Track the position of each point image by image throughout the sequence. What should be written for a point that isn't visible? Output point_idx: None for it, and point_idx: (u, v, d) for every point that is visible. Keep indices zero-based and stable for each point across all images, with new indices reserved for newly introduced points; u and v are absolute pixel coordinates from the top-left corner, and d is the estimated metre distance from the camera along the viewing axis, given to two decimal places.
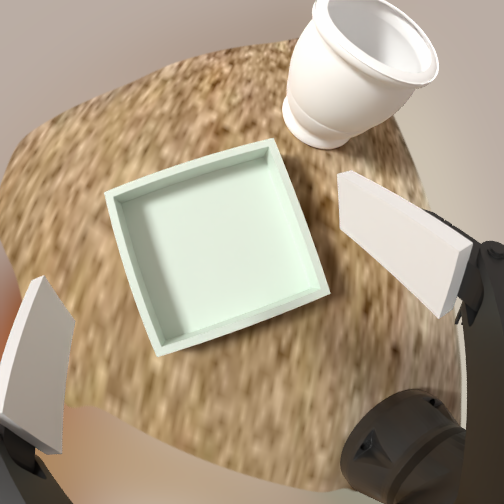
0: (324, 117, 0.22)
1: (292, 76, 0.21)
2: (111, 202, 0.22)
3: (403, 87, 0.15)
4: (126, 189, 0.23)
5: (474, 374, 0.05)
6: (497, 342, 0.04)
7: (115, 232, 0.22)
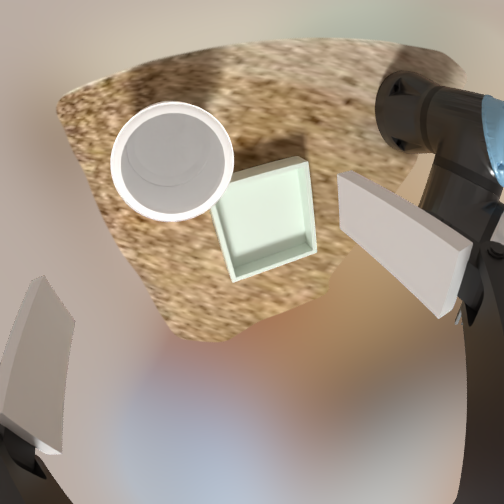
0: None
1: (176, 195, 0.31)
2: (238, 278, 0.45)
3: None
4: (232, 271, 0.44)
5: (474, 374, 0.05)
6: (497, 342, 0.04)
7: (255, 274, 0.46)
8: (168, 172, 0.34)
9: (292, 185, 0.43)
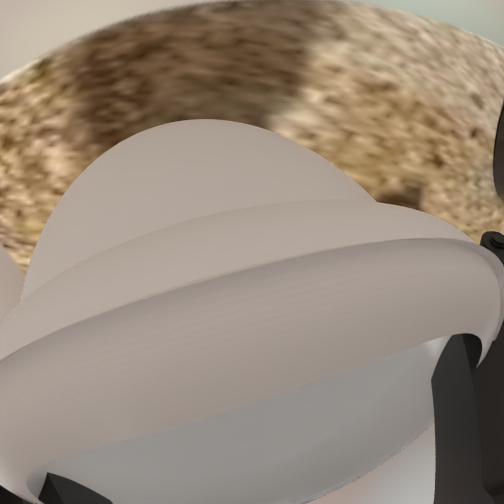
0: None
1: None
2: None
3: None
4: None
5: (438, 379, 0.06)
6: (457, 348, 0.05)
7: None
8: None
9: None
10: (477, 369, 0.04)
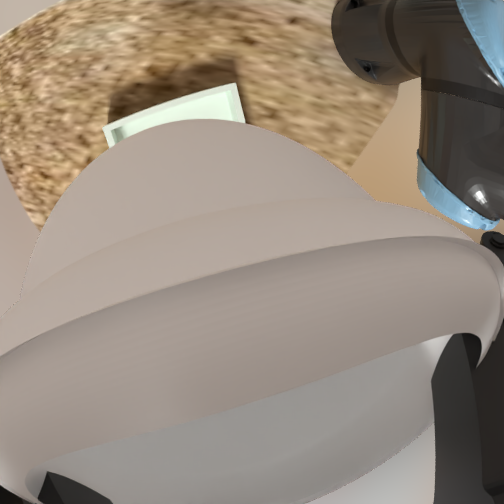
0: None
1: None
2: None
3: None
4: None
5: (437, 379, 0.06)
6: (457, 348, 0.05)
7: None
8: None
9: (222, 119, 0.31)
10: (477, 369, 0.04)
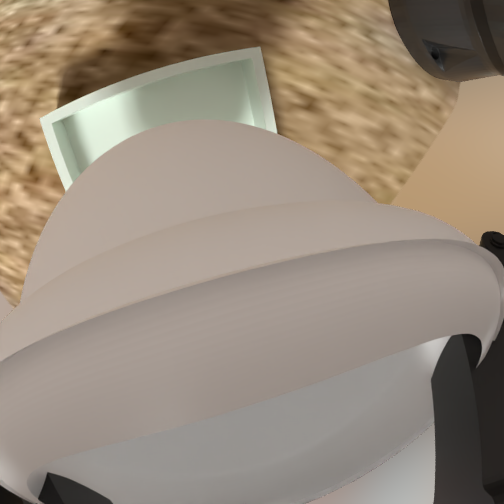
0: None
1: None
2: None
3: None
4: None
5: (437, 379, 0.06)
6: (457, 348, 0.05)
7: None
8: None
9: (235, 107, 0.19)
10: (477, 369, 0.04)
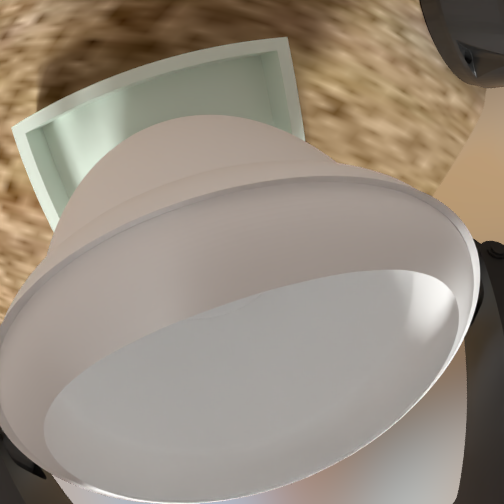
0: None
1: (225, 352, 0.13)
2: None
3: None
4: None
5: (474, 374, 0.05)
6: (497, 342, 0.04)
7: None
8: None
9: (253, 110, 0.16)
10: None
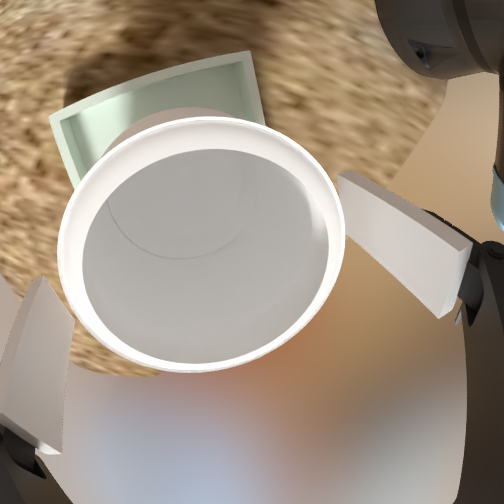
0: None
1: (201, 280, 0.18)
2: None
3: None
4: None
5: (474, 374, 0.05)
6: (497, 342, 0.04)
7: None
8: (182, 229, 0.21)
9: (228, 106, 0.21)
10: None
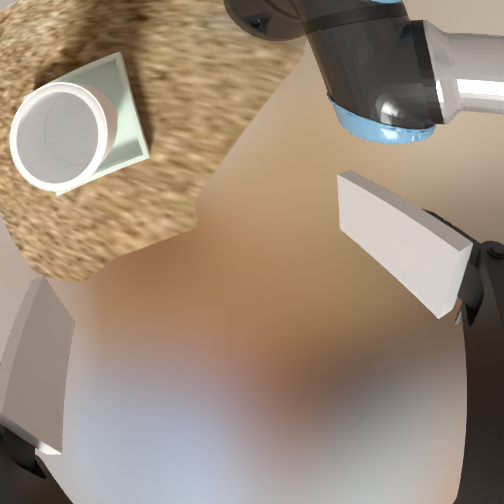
0: None
1: (83, 171, 0.29)
2: None
3: (108, 126, 0.22)
4: None
5: (474, 374, 0.05)
6: (497, 342, 0.04)
7: (78, 185, 0.34)
8: (84, 152, 0.31)
9: (115, 84, 0.31)
10: None
